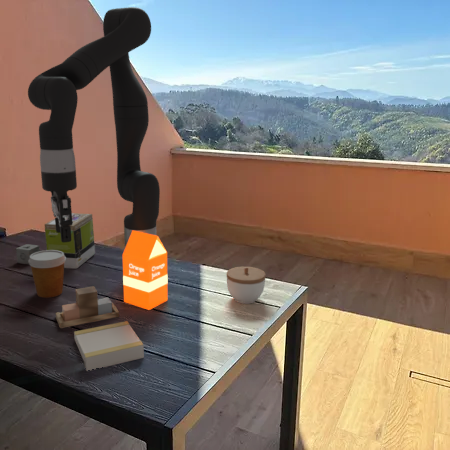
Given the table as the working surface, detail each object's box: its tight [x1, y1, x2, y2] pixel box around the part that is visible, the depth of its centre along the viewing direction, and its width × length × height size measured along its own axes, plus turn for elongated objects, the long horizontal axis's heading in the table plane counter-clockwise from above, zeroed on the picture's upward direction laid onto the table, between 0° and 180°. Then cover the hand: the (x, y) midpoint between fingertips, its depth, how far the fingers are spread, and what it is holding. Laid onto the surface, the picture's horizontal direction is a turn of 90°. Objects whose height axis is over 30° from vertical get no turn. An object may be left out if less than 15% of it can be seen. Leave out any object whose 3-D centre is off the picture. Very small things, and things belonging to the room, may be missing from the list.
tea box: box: [44, 212, 96, 269], centre depth 155 cm, size 15×10×15 cm, turn 172°
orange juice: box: [122, 230, 169, 311], centre depth 123 cm, size 8×9×20 cm
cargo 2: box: [98, 297, 112, 315], centre depth 117 cm, size 3×3×3 cm
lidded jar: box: [226, 266, 267, 305], centre depth 130 cm, size 11×11×9 cm
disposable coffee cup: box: [28, 249, 66, 299], centre depth 128 cm, size 10×10×12 cm
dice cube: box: [15, 243, 41, 266], centre depth 155 cm, size 5×5×5 cm
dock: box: [73, 320, 145, 372], centre depth 102 cm, size 12×12×3 cm
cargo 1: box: [61, 302, 80, 322], centre depth 113 cm, size 3×3×3 cm
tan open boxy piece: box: [55, 285, 120, 329], centre depth 115 cm, size 14×6×8 cm, turn 118°
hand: (63, 236), depth 111 cm, fingers open, 8 cm apart
